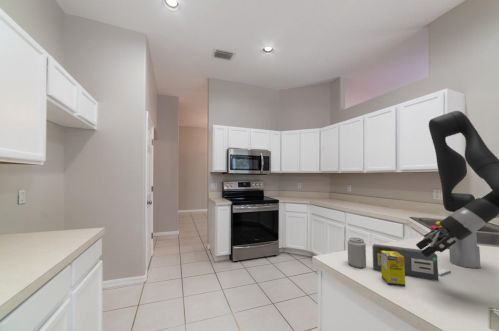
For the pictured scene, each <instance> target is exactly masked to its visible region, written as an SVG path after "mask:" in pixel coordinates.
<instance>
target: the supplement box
mask: <svg viewBox="0 0 499 331" xmlns="http://www.w3.org/2000/svg"><path fill="white" fill-rule="evenodd" d="M381 270H382V271H381V278H382V280H383V281H384V282H385V283H386V284H387V285H389V286H399V287H406V275H405V263H404V257H403V256H402V255H400V254H399V253H398V252H394V251H381Z"/></svg>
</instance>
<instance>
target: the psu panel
mask: <svg viewBox="0 0 499 331" xmlns="http://www.w3.org/2000/svg"><path fill="white" fill-rule="evenodd" d="M371 249H372V269H373V271H377V272H382V270H381V251H394V252H398V253H399V254H400V255H402V256H403V257H404V263H405V277H406V276H408V277H412V276H413V277H412V278H418V277H419V278H418V279H425V280H430V281H431V280H432V281H436V280H437V282H439V276H438V267H439V264H438V263H439V260H438V254H437V253H436V252H435V253H433V254H431V255H430V256H428V257H425V256H424V255H423V254H422V253H421V251H422V250H423V249H422V250H421V249H419V248H410V247H403V246H402V247H401V246H393V245H385V244H376V243H373V244H372V248H371Z"/></svg>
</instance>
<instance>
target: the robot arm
mask: <svg viewBox="0 0 499 331" xmlns="http://www.w3.org/2000/svg"><path fill="white" fill-rule="evenodd" d="M428 130H429V134H430V137H431V141H432V145H433V146H434V147H433V148H434V151H435V157H436V164H437V165H436V166H437V171H438V175H439V180H440V184H441V194H442V195H441V196H442V204H443V207H444V208H443V209H445V210H446V211H447V212H450V213H451V214H450V215H448V216H447V217H445V218H444V219H443V220H442V219H441V221H439V222H440V223H439V224H440V225H441V226H442V227H443V228H441V229H439V228H438V227H437V228H435V229H433V230H432V231H431V230H430V231H429V232H428V233H426V234H424V235H423V239H422V240H420V241H419V242H417V243H416V244H415V246H416V247H417V249H419V250H422V251H421V253H422V254H423V255H424V256H425V257H428V256H430V255H431V254H433V253H435V254H436V253H437V252H440V253H443V252H444V251H446V250H448V251H449V261H450V263H452V264H454V265H457V266H460V267H465V268H471V269H476V268H478V269H481V251H480V249H481V248H480V246H479V245H478V242H477V241H478V240H477V232H478V230H480V229H482V228H483V226H485V225H486V224H489V222H490V221H493V219H495V218H496V217H498V216H499V158H498V157H497V156H496V155H495V154H494V152H493V151H491V149H489V147H488V146H487V144H486V143H485V142H484V140H483V138H482V137H481V134H479V132H478V131H477V129H476V128H475V126H474V124H473V123H472V121H471V120H470V119H469V118H468V116H467V115H466V114H465V113H463V112H462V111H459V110H453V111H451V112H448V113H447V112H446V113H445V114H442V115H439V116H436V117H434V118H433V117H432V118H431V119H429V121H428ZM457 134H461V135H462V136H463V137H464V139H465V150H464V155H462V154H461V153H459V151H456V150H455V149H454V148H451V146H449V145H448V143H447V140H446V139H447V138H448V137H452V136H455V135H457ZM467 165H468V166H469V167H470V168H471V169H472V171H473V172H474V173H475V174H476V175H477V176H478V177H479V178H480V179H482V180H484V182H486V184H487V185H488V187H489V188H490V189H491V191H490V192H489V193H486V194H484V196H482V197H478V198H477V197H476V198H475V196H474V195H473V194H471V193H460V192H458V193H456V192H453V190H454V189H455V188H456V186H457V185H458V184H459V183H461V182H462V181H463V180H464V179H465V177H466V176H467V174H468V167H467ZM447 248H449V249H447Z"/></svg>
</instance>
